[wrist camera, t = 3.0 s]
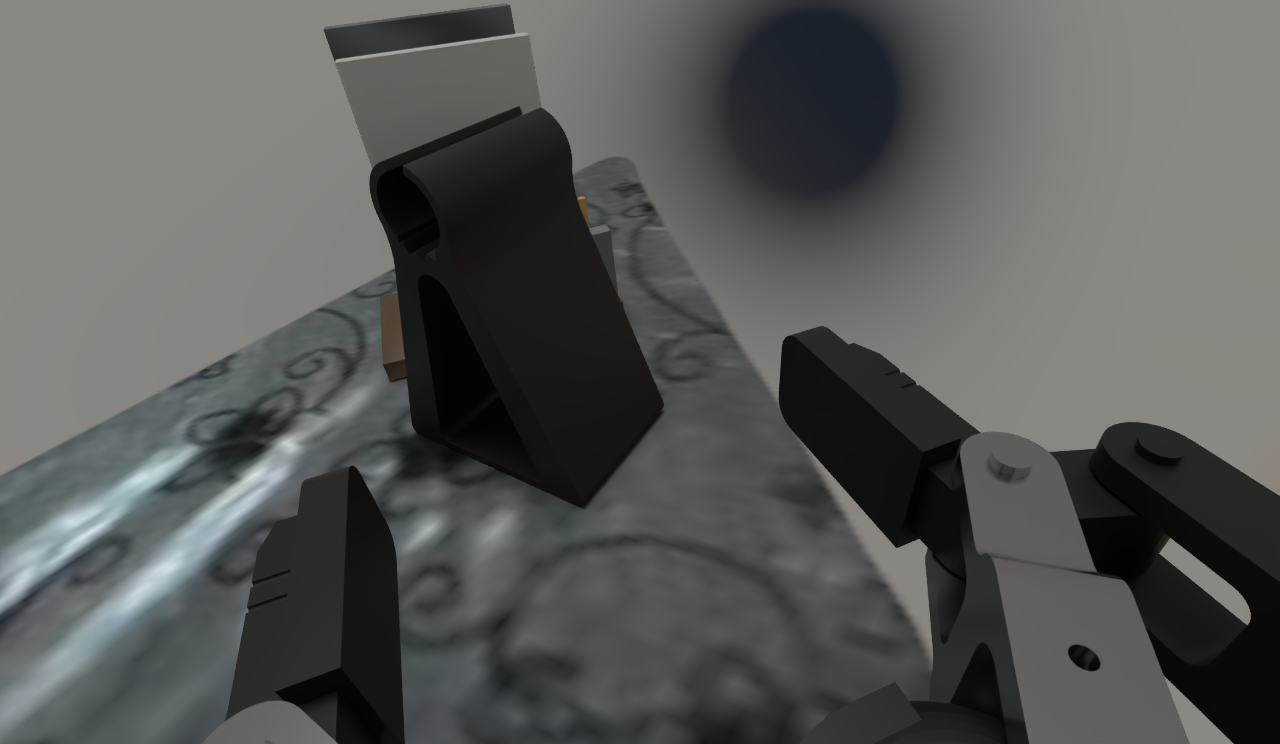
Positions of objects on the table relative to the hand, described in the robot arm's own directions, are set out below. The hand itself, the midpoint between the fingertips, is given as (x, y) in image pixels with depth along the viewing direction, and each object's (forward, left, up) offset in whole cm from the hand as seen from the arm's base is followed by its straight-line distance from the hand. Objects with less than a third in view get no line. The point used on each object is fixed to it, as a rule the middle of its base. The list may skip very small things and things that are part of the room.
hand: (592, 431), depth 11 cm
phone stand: (0, +12, -10) cm, 15 cm away
